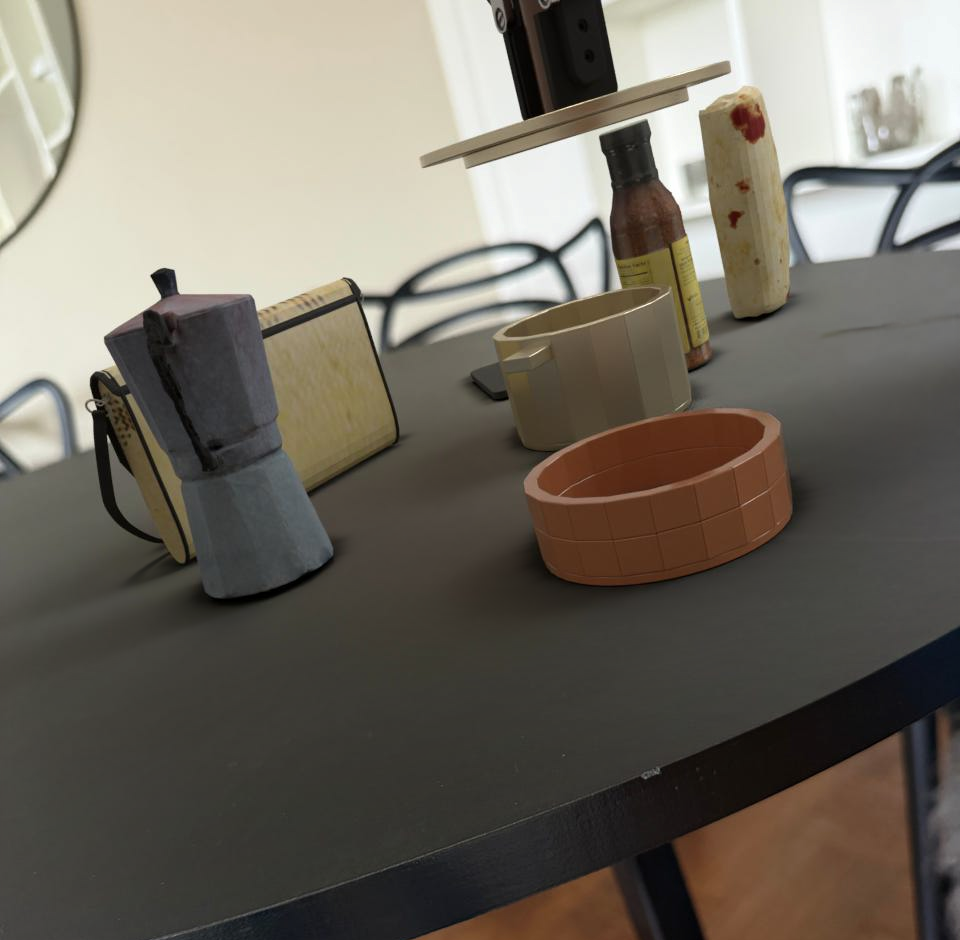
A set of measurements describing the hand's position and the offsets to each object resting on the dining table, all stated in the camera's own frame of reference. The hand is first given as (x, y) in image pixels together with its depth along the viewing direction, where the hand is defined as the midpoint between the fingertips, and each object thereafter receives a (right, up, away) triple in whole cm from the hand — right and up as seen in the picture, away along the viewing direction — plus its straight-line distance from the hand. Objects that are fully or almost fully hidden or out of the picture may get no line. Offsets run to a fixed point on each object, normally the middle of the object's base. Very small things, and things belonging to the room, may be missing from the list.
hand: (569, 106), depth 48 cm
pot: (+6, -8, +33) cm, 34 cm away
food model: (+24, +7, +53) cm, 59 cm away
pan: (+6, -19, +8) cm, 21 cm away
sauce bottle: (+13, -2, +42) cm, 44 cm away
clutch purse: (-21, -14, +38) cm, 46 cm away
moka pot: (-18, -21, +20) cm, 34 cm away
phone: (0, +1, +57) cm, 57 cm away
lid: (0, -1, 0) cm, 1 cm away
